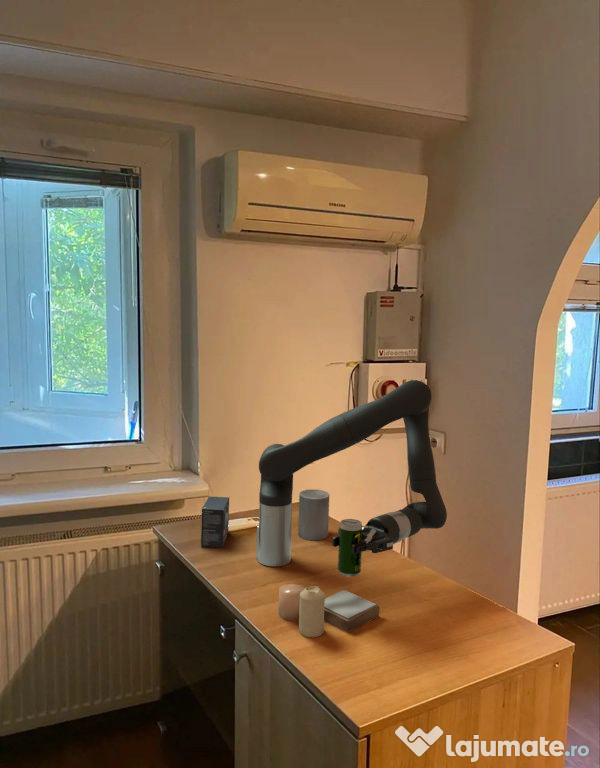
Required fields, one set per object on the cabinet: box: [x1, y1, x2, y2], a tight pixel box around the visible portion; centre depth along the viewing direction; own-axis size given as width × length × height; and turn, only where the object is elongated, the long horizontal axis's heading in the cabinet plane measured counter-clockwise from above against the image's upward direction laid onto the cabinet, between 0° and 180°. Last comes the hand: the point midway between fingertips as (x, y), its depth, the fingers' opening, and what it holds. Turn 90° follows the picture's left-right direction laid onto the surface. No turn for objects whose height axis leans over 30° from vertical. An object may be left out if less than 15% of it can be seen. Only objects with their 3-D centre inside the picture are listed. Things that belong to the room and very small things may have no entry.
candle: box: [298, 585, 326, 638], centre depth 135 cm, size 6×6×10 cm
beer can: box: [337, 518, 363, 578], centre depth 142 cm, size 5×5×12 cm
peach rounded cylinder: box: [278, 583, 305, 621], centre depth 143 cm, size 6×6×6 cm
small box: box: [200, 496, 230, 548], centre depth 189 cm, size 13×7×12 cm, turn 179°
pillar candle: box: [297, 488, 331, 541], centre depth 195 cm, size 10×10×15 cm
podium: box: [324, 589, 380, 633], centre depth 143 cm, size 11×11×3 cm
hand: (343, 545), depth 140 cm, fingers closed on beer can, 5 cm apart
